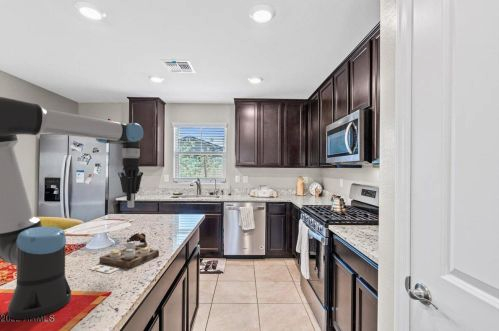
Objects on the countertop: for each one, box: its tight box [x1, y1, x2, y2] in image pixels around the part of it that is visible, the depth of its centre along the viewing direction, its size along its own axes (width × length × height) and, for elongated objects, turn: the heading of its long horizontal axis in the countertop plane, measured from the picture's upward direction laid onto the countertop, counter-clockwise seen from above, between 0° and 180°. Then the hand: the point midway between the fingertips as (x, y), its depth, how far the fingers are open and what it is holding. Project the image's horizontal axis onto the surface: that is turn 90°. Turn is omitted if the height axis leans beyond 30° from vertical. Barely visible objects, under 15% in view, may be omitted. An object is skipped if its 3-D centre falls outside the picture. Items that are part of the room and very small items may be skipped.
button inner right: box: [124, 249, 135, 260], centre depth 114 cm, size 4×4×4 cm
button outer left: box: [125, 241, 137, 250], centre depth 125 cm, size 4×4×4 cm
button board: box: [99, 246, 160, 269], centre depth 119 cm, size 18×18×2 cm
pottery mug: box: [126, 232, 148, 248], centre depth 140 cm, size 12×10×8 cm
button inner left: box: [109, 250, 121, 258], centre depth 117 cm, size 4×4×4 cm
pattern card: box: [88, 264, 120, 275], centre depth 107 cm, size 5×12×1 cm, turn 67°
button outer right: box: [140, 247, 151, 255], centre depth 122 cm, size 4×4×4 cm
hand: (130, 207), depth 120 cm, fingers closed
